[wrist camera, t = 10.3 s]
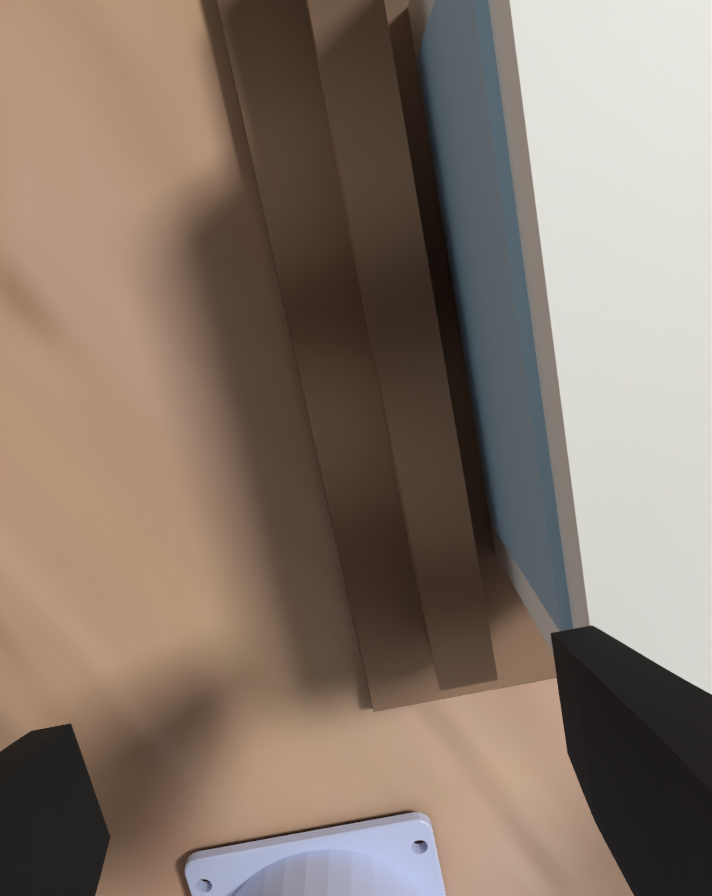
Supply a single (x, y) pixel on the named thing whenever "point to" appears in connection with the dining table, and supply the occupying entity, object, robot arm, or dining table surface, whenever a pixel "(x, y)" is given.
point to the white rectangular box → (585, 300)
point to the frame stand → (378, 342)
